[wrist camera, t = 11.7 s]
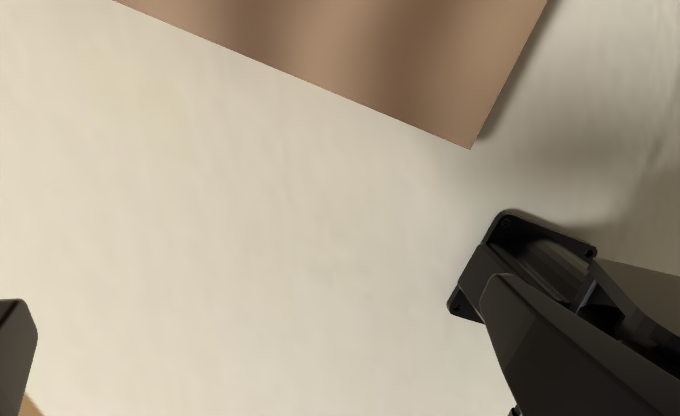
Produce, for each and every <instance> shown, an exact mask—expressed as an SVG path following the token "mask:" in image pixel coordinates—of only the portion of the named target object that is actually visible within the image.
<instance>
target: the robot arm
mask: <svg viewBox="0 0 680 416" xmlns="http://www.w3.org/2000/svg"><path fill="white" fill-rule="evenodd" d="M505 219H508V221H507V222H506V224H502V222H503V221H504V220H505ZM586 251H588V252H587V253H586V254H585V252H586ZM596 255H597V249H596V248H595V247H594V246H592V245H591V244H589V243H587V242H585V241H582V240H579V239H577V238H574V237H572V236H569V235H566V234H564V233H561V232H559V231H556V230H554V229H551V228H548V227H546V226H543V225H541V224H538V223H535V222H533V221H530V220H528V219H525V218H523V217H520V216H517V215H515V214H512V213H510V212H506V211H504V212H500V213H499V214H498V215H497V216H496V217H495V219H494V220H493V222H492V224H491V226H490V227H489V229H488V231H487V233H486V235H485V236H484V238H483V240H482V242H481V243H480V244H479V245H478V246H477V248H476V250H475V252H474V253H473V255H472V257H471V259H470V260H469V262H468V264H467V266H466V267H465V269H464V271H463V273H462V275H461V276H460V278H459V280H458V284H457V286H456V287H455V289H454V291H453V293H452V294H451V296H450V298H449V300H448V301H447V308H448V310H449V312H450V313H451V314H453V315H455V316H458V317H462V318H465V319H468V320H471V321H475V322H478V323H481V324H485V325H486V328H487V331H488V334H489V336H490V339H491V342H492V345H493V348H494V351H495V353H496V356H497V359H498V362H499V364H500V367H501V370H502V372H503V375H504V377H505V379H506V381H507V384H508V386H509V388H510V390H511V392H512V394H513V397H514V399H515V401H516V403H517V405H516V407H515V408H512V409H511V410H510V412H509V414H508V416H680V277H679V276H675V275H670V274H666V273H661V272H657V271H653V270H648V269H644V268H639V267H635V266H631V265H626V264H622V263H618V262H613V261H609V260H604V259H600V258H596ZM456 304H459V305H458V306H457V307H455V308H453V307H454V306H455V305H456ZM37 340H38V333H37V328H36V326H35V323H34V321H33V318H32V316H31V313H30V311H29V309H28V306H27V304H26V302H25V301H24V300H22V299H0V416H18V415H19V411H20V407H21V403H22V400H23V396H24V392H25V388H26V384H27V380H28V376H29V373H30V369H31V365H32V361H33V357H34V353H35V349H36V346H37Z"/></svg>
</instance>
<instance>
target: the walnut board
mask: <svg viewBox="0 0 680 416" xmlns="http://www.w3.org/2000/svg"><path fill="white" fill-rule="evenodd" d="M113 1H116V2H118V3H121V4H123V5H125V6H128V7H130V8H133V9H135V10H137V11H140V12H142V13H145V14H147V15H149V16H152V17H154V18H156V19H159V20H161V21H164V22H166V23H168V24H171V25H173V26H176V27H178V28H180V29H183V30H185V31H187V32H190V33H192V34H195V35H197V36H199V37H202V38H204V39H207V40H209V41H211V42H214V43H216V44H219V45H221V46H223V47H226V48H228V49H230V50H233V51H235V52H238V53H240V54H242V55H245V56H247V57H250V58H252V59H254V60H257V61H259V62H261V63H264V64H266V65H269V66H271V67H273V68H276V69H278V70H281V71H283V72H285V73H288V74H290V75H293V76H295V77H297V78H300V79H302V80H304V81H307V82H309V83H312V84H314V85H316V86H319V87H321V88H324V89H326V90H328V91H331V92H333V93H335V94H338V95H340V96H343V97H345V98H347V99H350V100H352V101H355V102H357V103H359V104H362V105H364V106H367V107H369V108H371V109H374V110H376V111H378V112H381V113H383V114H386V115H388V116H390V117H393V118H395V119H398V120H400V121H402V122H405V123H407V124H409V125H412V126H414V127H417V128H419V129H421V130H424V131H426V132H429V133H431V134H433V135H436V136H438V137H441V138H443V139H445V140H448V141H450V142H452V143H455V144H457V145H460V146H462V147H464V148H467V149H469V150H470V149H471V147H472V145H473V143H474V142H475V140H476V138H477V136H478V134H479V132H480V130H481V128H482V126H483V124H484V122H485V120H486V118H487V116H488V115H489V113H490V111H491V109H492V107H493V105H494V103H495V101H496V99H497V97H498V95H499V93H500V91H501V89H502V88H503V86H504V84H505V82H506V80H507V78H508V76H509V74H510V72H511V70H512V68H513V66H514V64H515V62H516V61H517V59H518V57H519V55H520V53H521V51H522V49H523V47H524V45H525V43H526V41H527V39H528V37H529V35H530V34H531V32H532V30H533V28H534V26H535V24H536V22H537V20H538V18H539V16H540V14H541V12H542V10H543V8H544V7H545V5H546V3H547V1H548V0H113Z"/></svg>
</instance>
